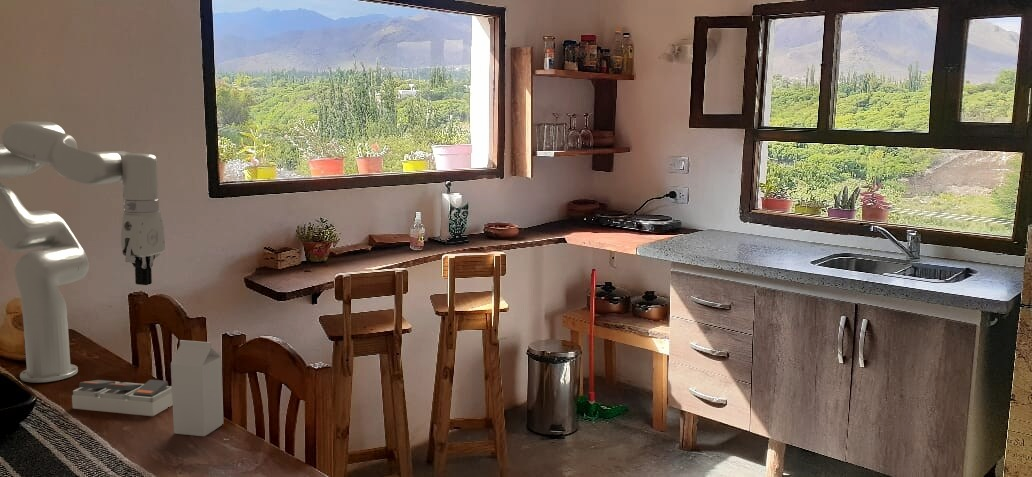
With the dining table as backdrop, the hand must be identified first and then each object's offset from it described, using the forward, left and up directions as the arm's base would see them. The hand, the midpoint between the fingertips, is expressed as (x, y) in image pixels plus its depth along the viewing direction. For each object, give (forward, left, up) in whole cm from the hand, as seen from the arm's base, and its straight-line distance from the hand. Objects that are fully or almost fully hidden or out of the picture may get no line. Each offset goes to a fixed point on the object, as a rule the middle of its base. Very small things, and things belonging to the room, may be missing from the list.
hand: (143, 283), depth 194 cm
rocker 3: (+15, -6, -21) cm, 26 cm away
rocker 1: (+3, -13, -21) cm, 25 cm away
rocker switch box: (+9, -9, -25) cm, 28 cm away
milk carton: (+34, -5, -26) cm, 43 cm away
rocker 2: (+9, -9, -21) cm, 24 cm away
